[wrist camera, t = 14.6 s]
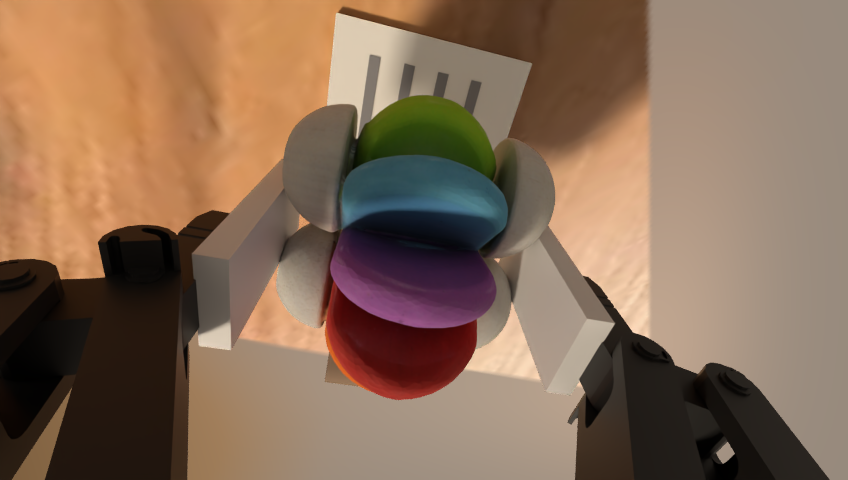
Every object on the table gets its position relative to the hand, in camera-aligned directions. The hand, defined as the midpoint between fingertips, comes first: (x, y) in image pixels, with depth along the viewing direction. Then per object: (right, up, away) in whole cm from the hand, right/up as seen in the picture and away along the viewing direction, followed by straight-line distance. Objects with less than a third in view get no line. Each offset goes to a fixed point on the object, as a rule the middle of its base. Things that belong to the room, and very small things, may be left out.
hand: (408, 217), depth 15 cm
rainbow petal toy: (0, 0, 0) cm, 0 cm away
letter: (0, +3, +5) cm, 6 cm away
